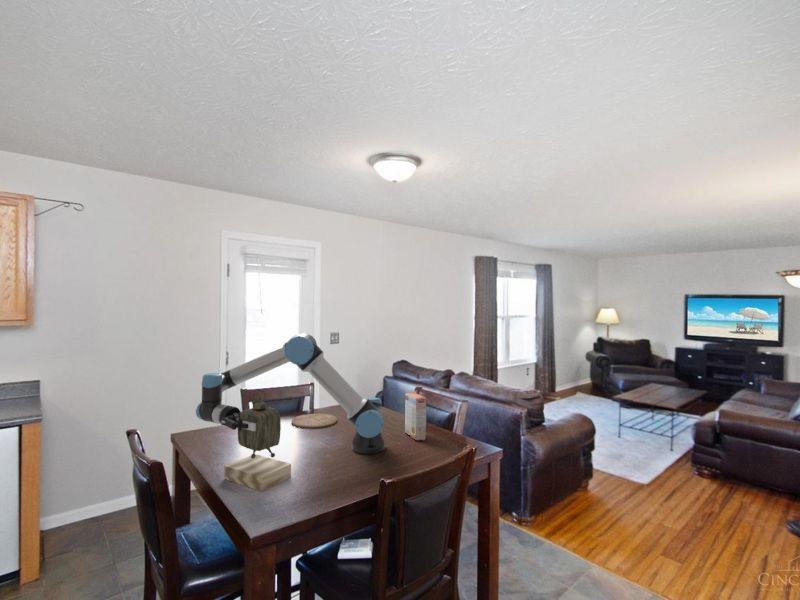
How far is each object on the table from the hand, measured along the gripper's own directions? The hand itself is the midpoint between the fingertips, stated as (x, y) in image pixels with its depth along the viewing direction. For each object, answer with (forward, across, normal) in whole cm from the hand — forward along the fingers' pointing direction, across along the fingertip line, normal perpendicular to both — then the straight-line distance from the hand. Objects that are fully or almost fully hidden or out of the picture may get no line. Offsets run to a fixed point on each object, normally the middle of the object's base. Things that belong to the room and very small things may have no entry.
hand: (266, 423), depth 148 cm
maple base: (-4, 0, -21) cm, 21 cm away
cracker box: (+25, -74, -21) cm, 81 cm away
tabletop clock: (-4, 0, -13) cm, 14 cm away
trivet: (-36, -68, -22) cm, 80 cm away
